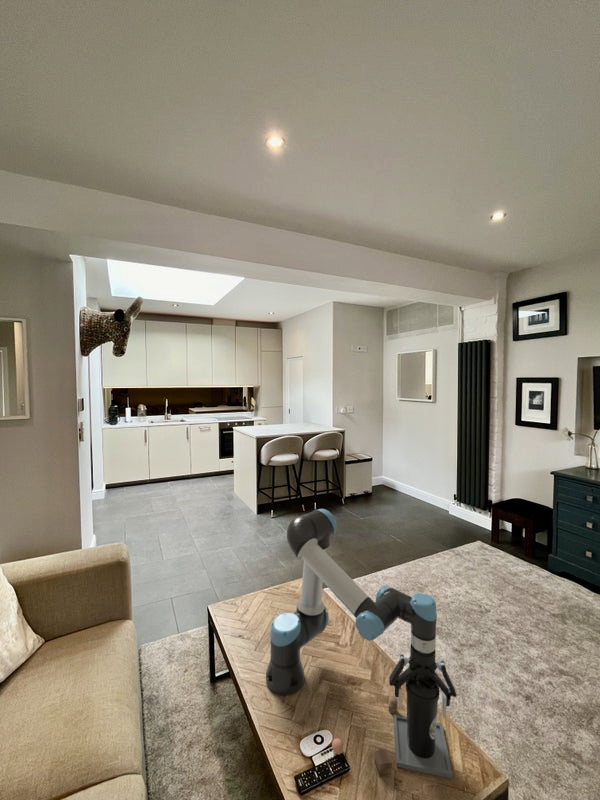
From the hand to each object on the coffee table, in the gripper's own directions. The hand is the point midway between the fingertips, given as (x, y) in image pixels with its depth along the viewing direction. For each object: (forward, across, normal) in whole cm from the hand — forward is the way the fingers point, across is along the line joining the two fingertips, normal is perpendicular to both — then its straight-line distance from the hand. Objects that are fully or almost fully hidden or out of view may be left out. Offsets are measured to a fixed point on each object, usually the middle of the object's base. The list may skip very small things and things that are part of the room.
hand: (421, 709), depth 112 cm
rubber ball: (+12, -26, -8) cm, 30 cm away
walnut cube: (+12, -12, -10) cm, 20 cm away
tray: (+12, 0, 0) cm, 12 cm away
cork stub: (+12, -8, +10) cm, 18 cm away
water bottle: (+12, 0, 0) cm, 12 cm away
